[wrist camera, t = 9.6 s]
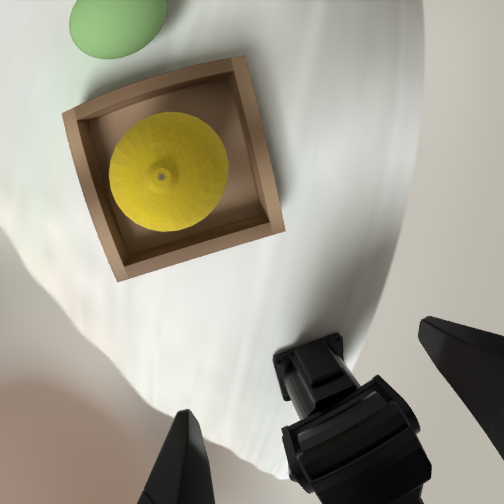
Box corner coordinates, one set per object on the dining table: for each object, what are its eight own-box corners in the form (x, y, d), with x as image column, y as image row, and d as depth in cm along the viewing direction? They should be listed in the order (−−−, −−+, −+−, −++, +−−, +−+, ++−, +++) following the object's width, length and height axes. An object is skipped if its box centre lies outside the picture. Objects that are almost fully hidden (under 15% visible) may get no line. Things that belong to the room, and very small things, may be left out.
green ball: (176, 53, 14) (173, 18, 9) (92, 81, 14) (58, 60, 9) (161, -11, 12) (157, -56, 7) (82, 16, 11) (53, -18, 6)
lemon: (235, 180, 18) (270, 203, 10) (159, 227, 18) (140, 283, 10) (191, 104, 15) (193, 68, 8) (113, 154, 15) (58, 159, 8)
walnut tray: (273, 220, 20) (285, 230, 17) (124, 266, 18) (117, 282, 16) (237, 66, 15) (244, 55, 13) (76, 116, 14) (61, 113, 12)
